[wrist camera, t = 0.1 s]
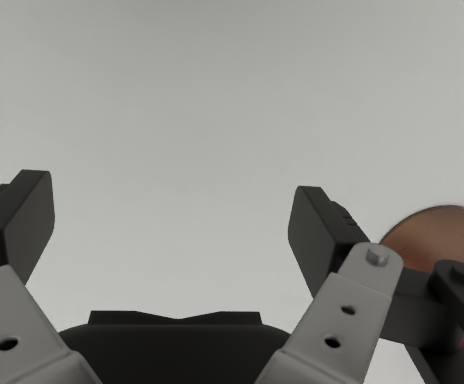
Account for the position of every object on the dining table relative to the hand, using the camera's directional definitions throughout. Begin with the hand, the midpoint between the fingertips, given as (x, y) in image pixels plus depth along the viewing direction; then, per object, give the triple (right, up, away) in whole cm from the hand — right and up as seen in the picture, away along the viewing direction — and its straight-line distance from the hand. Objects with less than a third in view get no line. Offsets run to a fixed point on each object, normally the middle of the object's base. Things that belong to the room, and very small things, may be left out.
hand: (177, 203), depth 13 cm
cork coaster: (+21, -6, +25) cm, 33 cm away
